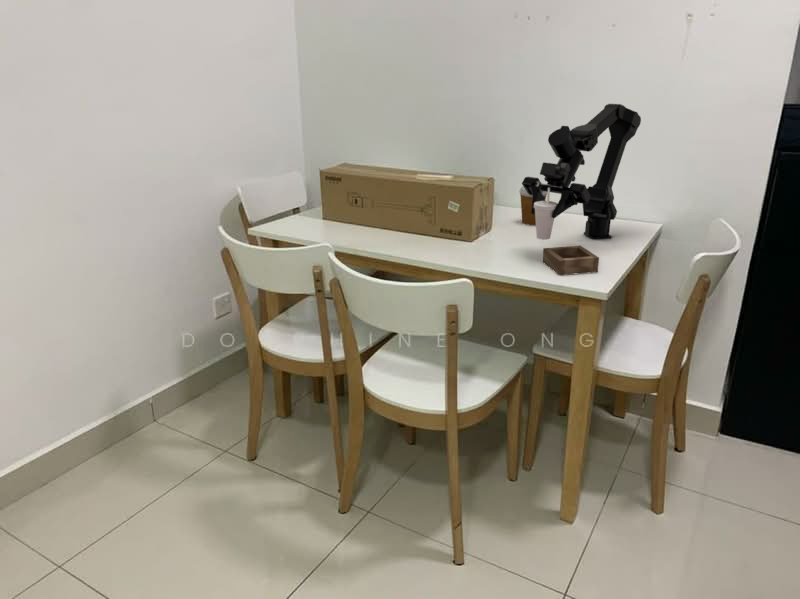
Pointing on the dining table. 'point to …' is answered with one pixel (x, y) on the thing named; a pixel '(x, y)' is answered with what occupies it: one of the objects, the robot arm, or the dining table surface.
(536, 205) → the smoothie
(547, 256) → the socket block
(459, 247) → the dining table surface
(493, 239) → the dining table surface
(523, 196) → the disposable coffee cup
